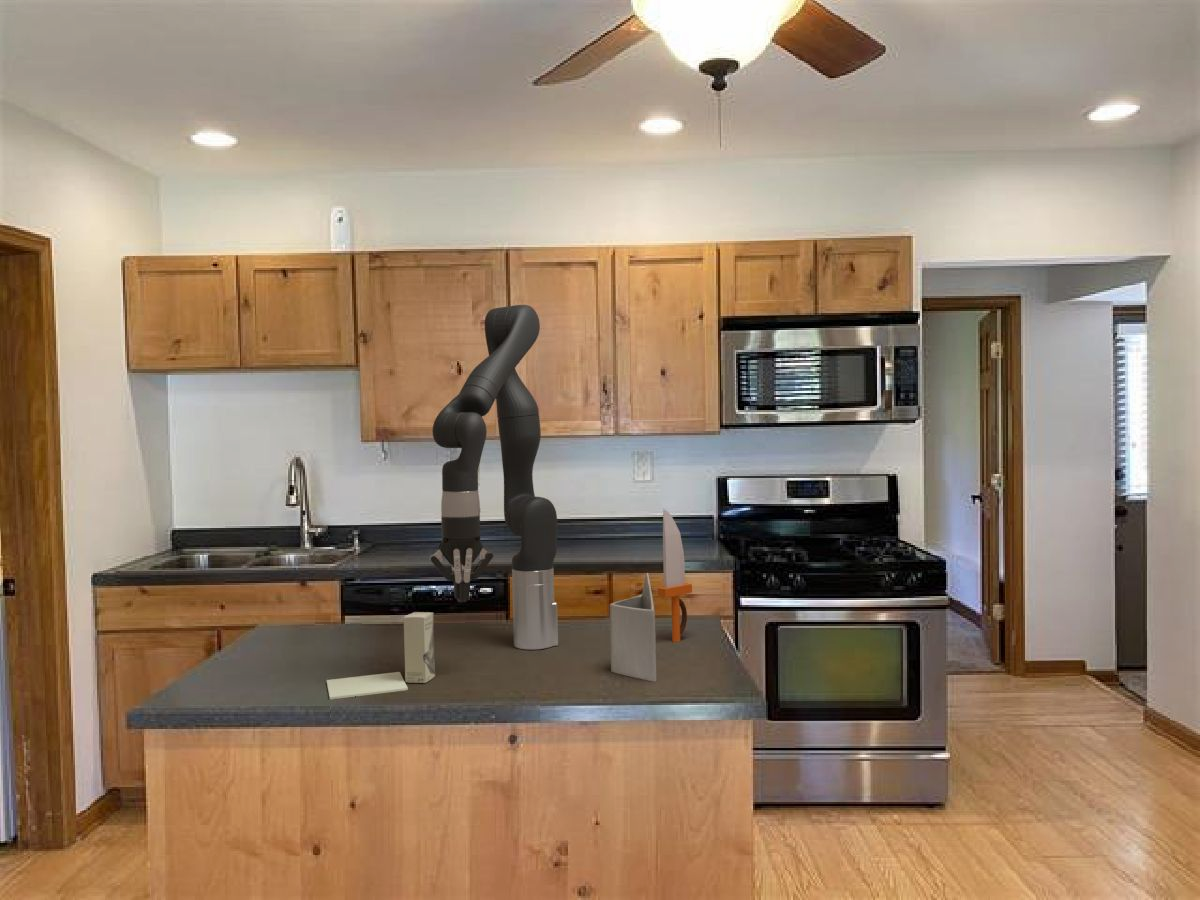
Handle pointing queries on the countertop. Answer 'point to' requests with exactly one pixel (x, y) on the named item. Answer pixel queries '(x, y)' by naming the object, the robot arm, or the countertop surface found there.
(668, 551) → the knife
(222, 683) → the countertop surface
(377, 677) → the sage mat
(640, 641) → the planter
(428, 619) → the box
